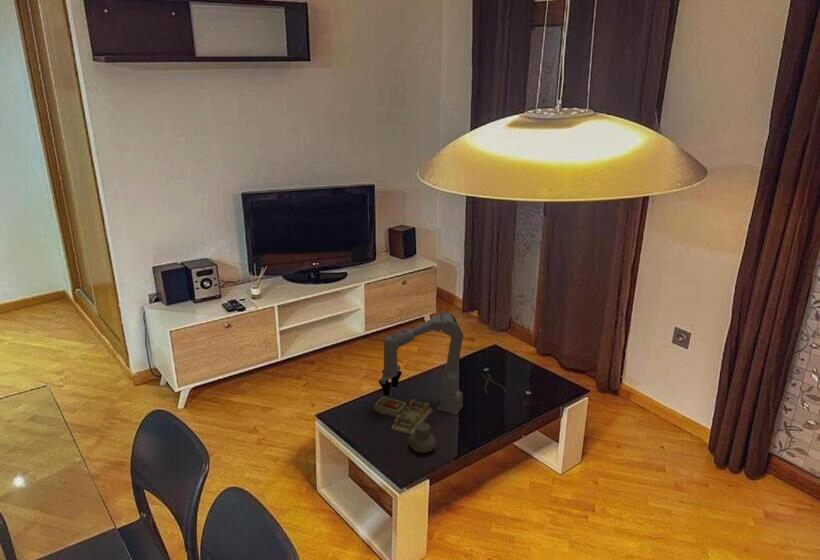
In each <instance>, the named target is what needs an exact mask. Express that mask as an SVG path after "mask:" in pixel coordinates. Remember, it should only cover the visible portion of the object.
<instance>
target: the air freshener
mask: <svg viewBox="0 0 820 560" xmlns="http://www.w3.org/2000/svg"><path fill="white" fill-rule="evenodd" d="M408 443H409V446H410V448H411V449H412V450H413V451H415V452H417V453H421V454H423V453H428V452H431V451H433V450H434V448H436V446H437V440H436V438H435V436H434V434H432V433H431V425H430V424H429V423H426V422H423V423H418V424H417V425H416V426H415V433H413V434H412V435H410V436H409V438H408Z"/></svg>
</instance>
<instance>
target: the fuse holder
mask: <svg viewBox="0 0 820 560" xmlns="http://www.w3.org/2000/svg"><path fill="white" fill-rule="evenodd" d="M413 400H416V401H417V399H416V398H413ZM426 403H428V409H427V410H425V407H423V409H422V408H418V407H414V406H412V404H410V403H409V404H408V406H407V407H406V410H405V411H404V412H402V415H401V416H404V417H408V418H413V419H415V424H414V426H411V424H405V423H402V422H397V420H396V419H394V423H393V424H392V425H391V431H392V430H393V431H396V432H400V433H403V434H406V435H410V436H411V435H412V434H413V433H415V426H416V425H417V424H418V423H425V421H426V419H427V418H428V417H429V416H430V415H431V413H432V412H433V408H430V402H426Z"/></svg>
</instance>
